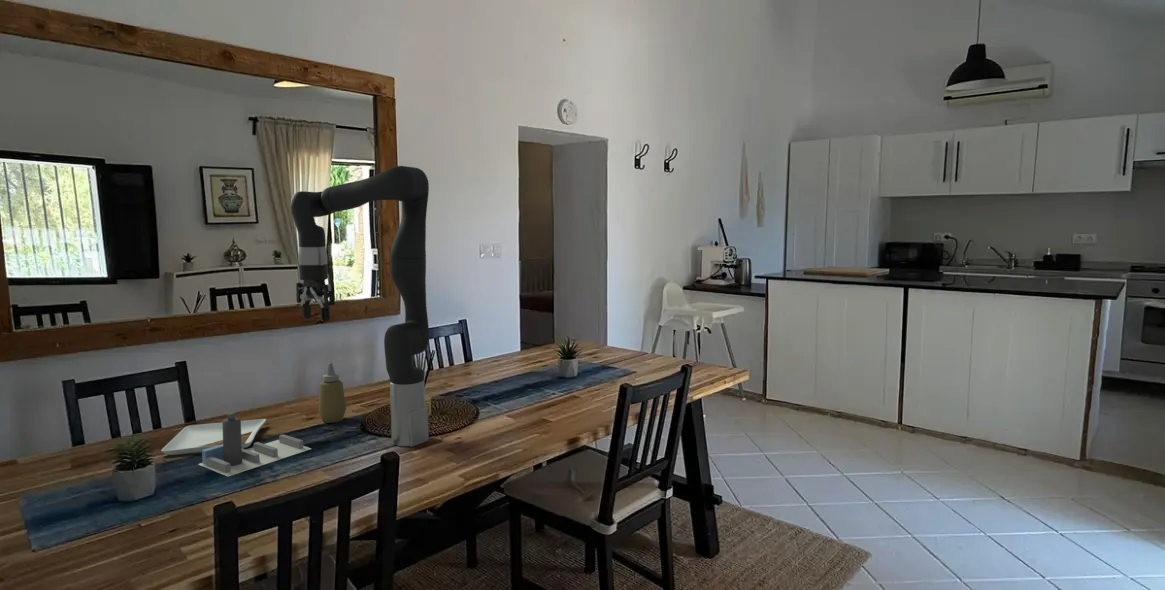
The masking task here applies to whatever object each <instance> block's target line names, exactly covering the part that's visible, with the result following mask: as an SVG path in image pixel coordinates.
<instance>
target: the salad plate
mask: <svg viewBox="0 0 1165 590" xmlns="http://www.w3.org/2000/svg"><path fill="white" fill-rule="evenodd" d="M266 422H267V418H258V419H247V420H246V419H245V420H241V436H242V435H245V434H248V433H250V435H249V437H248V438H247V440H246V441H245V442H244V443H242V448H243V449H248V447H250V446H251V444H252V443H253V441H254V439H255V437H256V435H257V434H258V433H259V431H260V430H261V429H262V427H263V426H264V425H265V424H266ZM220 441H223V429H222V422H213V423H204V424H191V425H187V426H185V427H184V428H183V429H182V430H180V431H179V432H178V433H177V434H176V435H175V436H174V437H173V438H171V440H170V441H169V442H168V443H167V444H166V445H165V446H164V447H162V449H161V452H162V453H163V454H165V455H168V456H177V455H185V454H186V455H188V454H196V453H197V454H199V453H202V450H204V449H208V448H211V447H215V446H218V445H219V444H216V445H209V444H213V443H217V442H220Z"/></svg>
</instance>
